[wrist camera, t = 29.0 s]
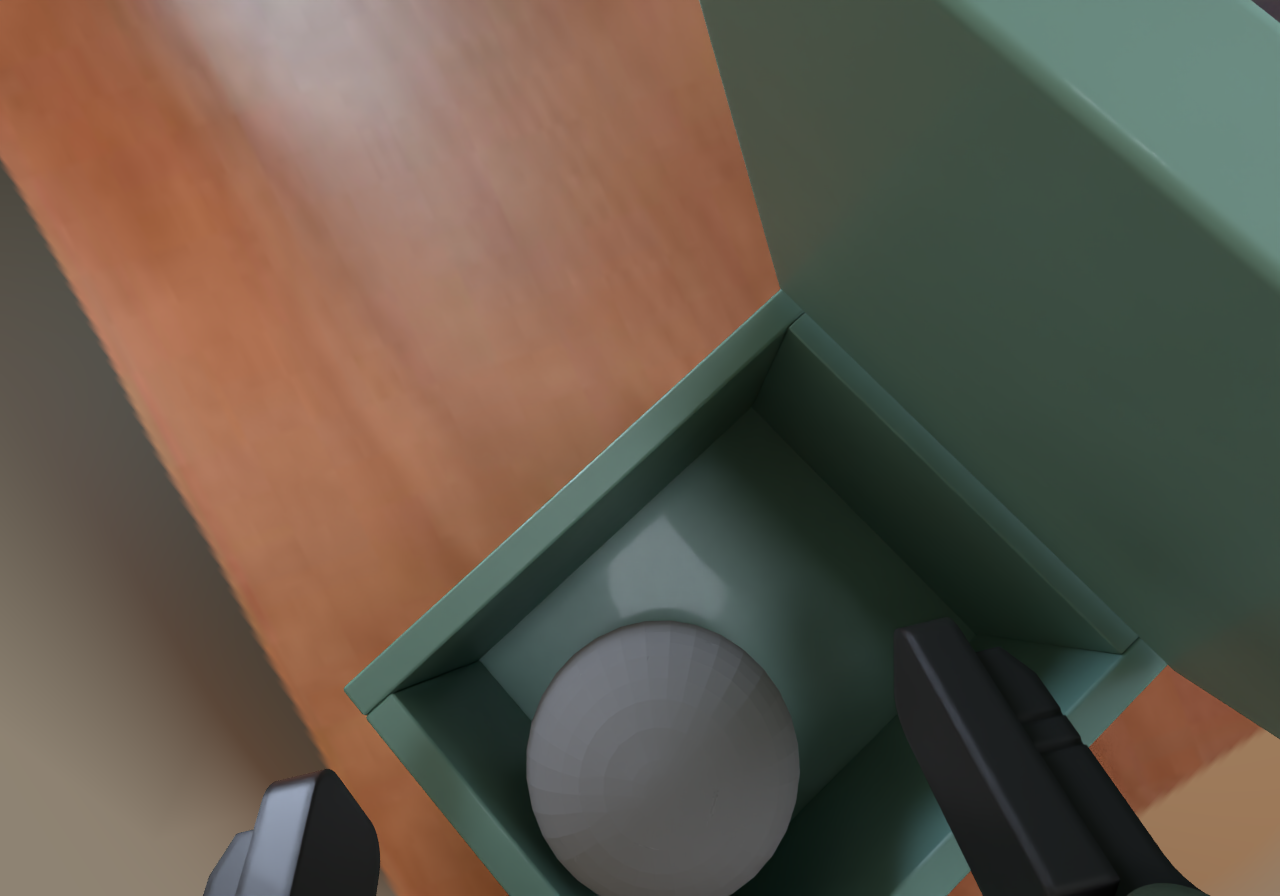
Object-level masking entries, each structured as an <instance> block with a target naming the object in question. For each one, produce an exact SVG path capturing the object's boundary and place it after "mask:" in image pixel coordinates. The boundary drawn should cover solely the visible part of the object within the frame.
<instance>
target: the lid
mask: <svg viewBox="0 0 1280 896" xmlns="http://www.w3.org/2000/svg"><path fill="white" fill-rule="evenodd" d="M699 1H700V5H701V8H702V12H703V15H704V19H705V22H706V26H707V29H708V33H709V37H710V40H711V44H712V47H713V51H714V54H715V58H716V62H717V65H718V69H719V72H720V76H721V79H722V83H723V86H724V90H725V94H726V97H727V101H728V104H729V108H730V111H731V115H732V119H733V122H734V126H735V129H736V133H737V136H738V140H739V143H740V147H741V151H742V154H743V158H744V161H745V165H746V168H747V172H748V176H749V179H750V183H751V186H752V190H753V193H754V197H755V200H756V204H757V208H758V211H759V215H760V218H761V222H762V225H763V229H764V233H765V236H766V240H767V243H768V247H769V250H770V254H771V257H772V261H773V265H774V268H775V272H776V275H777V279H778V282H779V286H780V288H781V289H782V290H783V291H784V292H785V293H786V294H787V295H788V296H789V297H790V298H791V299H792V300H793V301H794V302H795V303H796V304H797V305H798V306H799V307H800V308H801V309H802V310H803V311H804V312H805V313H806V314H807V315H808V316H809V317H810V318H811V319H812V320H813V321H815V322H816V323H817V324H818V325H819V326H820V327H821V328H822V329H823V330H824V331H825V332H826V333H827V334H828V335H829V336H830V337H831V338H832V339H833V340H834V341H835V342H836V343H837V344H838V345H839V346H840V347H841V348H842V349H843V350H844V351H845V352H846V353H847V354H848V355H850V356H851V357H852V358H853V359H854V360H855V361H856V362H857V363H858V364H859V365H860V366H861V367H862V368H863V369H864V370H865V371H866V372H867V373H868V374H869V375H870V376H871V377H872V378H873V379H874V380H875V381H876V382H877V383H878V384H879V385H880V386H881V387H882V388H884V389H885V390H886V391H887V392H888V393H889V394H890V395H891V396H892V397H893V398H894V399H895V400H896V401H897V402H898V403H899V404H900V405H901V406H902V407H903V408H904V409H905V410H906V411H907V412H908V413H909V414H910V415H911V416H912V417H913V418H914V419H915V420H916V421H917V422H919V423H920V424H921V425H922V426H923V427H924V428H925V429H926V430H927V431H928V432H929V433H930V434H931V435H932V436H933V437H934V438H935V439H936V440H937V441H938V442H939V443H940V444H941V445H942V446H943V447H944V448H945V449H946V450H947V451H948V452H949V453H950V454H951V455H953V456H954V457H955V458H956V459H957V460H958V461H959V462H960V463H961V464H962V465H963V466H964V467H965V468H966V469H967V470H968V471H969V472H970V473H971V474H972V475H973V476H974V477H975V478H976V479H977V480H978V481H979V482H980V483H981V484H982V485H983V486H984V487H985V488H986V489H988V490H989V491H990V492H991V493H992V494H993V495H994V496H995V497H996V498H997V499H998V500H999V501H1000V502H1001V503H1002V504H1003V505H1004V506H1005V507H1006V508H1007V509H1008V510H1009V511H1010V512H1011V513H1012V514H1013V515H1014V516H1015V517H1016V518H1017V519H1018V520H1019V521H1020V522H1022V523H1023V524H1024V525H1025V526H1026V527H1027V528H1028V529H1029V530H1030V531H1031V532H1032V533H1033V534H1034V535H1035V536H1036V537H1037V538H1038V539H1039V540H1040V541H1041V542H1042V543H1043V544H1044V545H1045V546H1046V547H1047V548H1048V549H1049V550H1050V551H1051V552H1052V553H1053V554H1054V555H1055V556H1057V557H1058V558H1059V559H1060V560H1061V561H1062V562H1063V563H1064V564H1065V565H1066V566H1067V567H1068V568H1069V569H1070V570H1071V571H1072V572H1073V573H1074V574H1075V575H1076V576H1077V577H1078V578H1079V579H1080V580H1081V581H1082V582H1083V583H1084V584H1085V585H1086V586H1087V587H1088V588H1089V589H1091V590H1092V591H1093V592H1094V593H1095V594H1096V595H1097V596H1098V597H1099V598H1100V599H1101V600H1102V601H1103V602H1104V603H1105V604H1106V605H1107V606H1108V607H1109V608H1110V609H1111V610H1112V611H1113V612H1114V613H1115V614H1116V615H1117V616H1118V617H1119V618H1120V619H1121V620H1122V621H1123V622H1124V623H1126V624H1127V625H1128V626H1129V627H1130V628H1131V629H1132V630H1133V631H1134V632H1135V633H1136V634H1137V635H1138V636H1139V637H1140V638H1141V639H1142V640H1143V641H1144V642H1145V643H1146V644H1147V645H1148V646H1149V647H1150V648H1151V649H1152V650H1153V651H1154V652H1155V653H1156V654H1157V655H1158V656H1160V657H1161V658H1162V659H1163V660H1164V661H1165V662H1166V663H1167V664H1168V665H1169V666H1170V667H1171V668H1172V669H1173V670H1174V671H1176V672H1177V673H1179V674H1180V675H1182V676H1183V677H1185V678H1186V679H1188V680H1189V681H1191V682H1192V683H1194V684H1196V685H1197V686H1199V687H1200V688H1202V689H1203V690H1205V691H1206V692H1208V693H1209V694H1211V695H1213V696H1214V697H1216V698H1217V699H1219V700H1220V701H1222V702H1223V703H1225V704H1226V705H1228V706H1229V707H1231V708H1233V709H1234V710H1236V711H1237V712H1239V713H1240V714H1242V715H1243V716H1245V717H1246V718H1248V719H1250V720H1251V721H1253V722H1254V723H1256V724H1257V725H1259V726H1260V727H1262V728H1263V729H1265V730H1266V731H1268V732H1270V733H1271V734H1273V735H1274V736H1276V737H1277V738H1279V739H1280V23H1279V22H1278V21H1277V20H1276V19H1274V18H1273V17H1272V16H1270V15H1269V14H1268V13H1267V12H1265V11H1264V10H1263V9H1262V8H1260V7H1259V6H1258V5H1256V4H1255V3H1254V2H1253V1H1251V0H699Z"/></svg>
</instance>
